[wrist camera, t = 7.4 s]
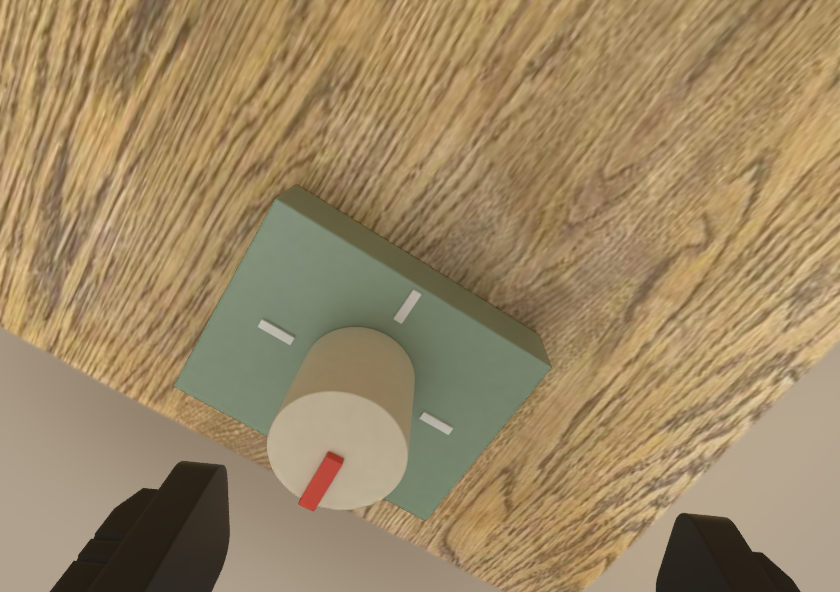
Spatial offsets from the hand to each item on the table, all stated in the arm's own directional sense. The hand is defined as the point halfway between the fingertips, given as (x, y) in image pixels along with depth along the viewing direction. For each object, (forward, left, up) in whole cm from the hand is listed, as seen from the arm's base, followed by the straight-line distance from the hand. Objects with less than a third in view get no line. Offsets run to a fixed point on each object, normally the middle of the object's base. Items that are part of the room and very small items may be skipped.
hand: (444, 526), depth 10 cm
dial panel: (-4, +3, -14) cm, 15 cm away
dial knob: (-4, +3, -11) cm, 12 cm away
